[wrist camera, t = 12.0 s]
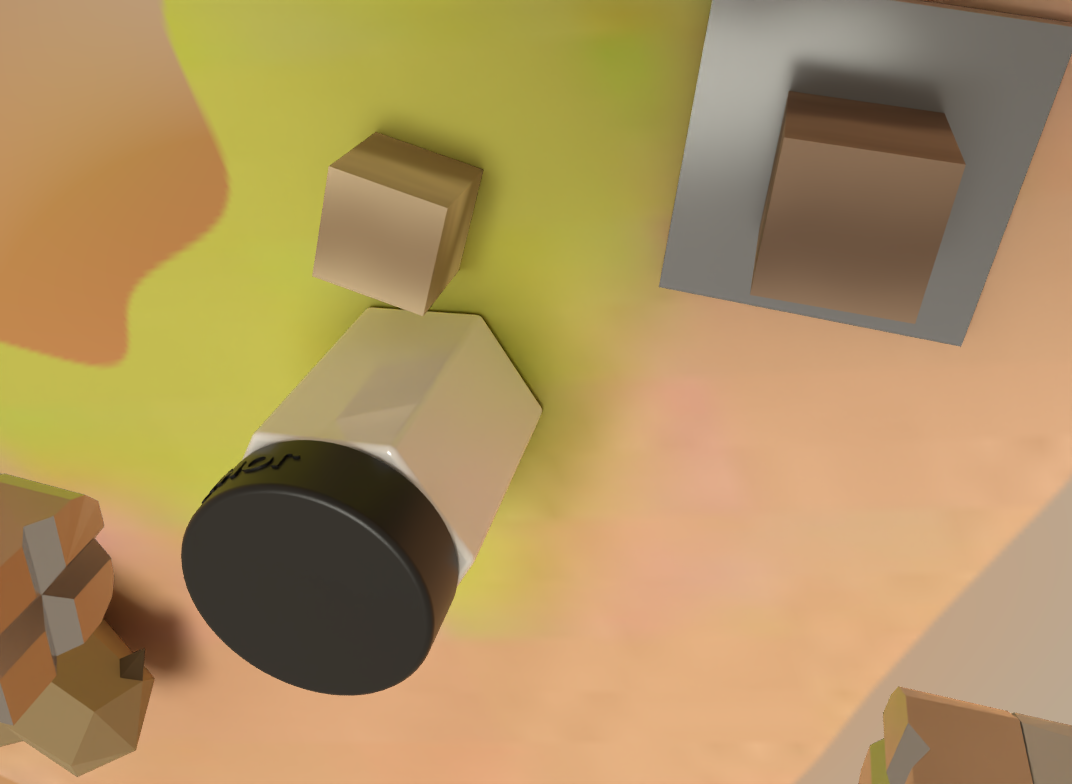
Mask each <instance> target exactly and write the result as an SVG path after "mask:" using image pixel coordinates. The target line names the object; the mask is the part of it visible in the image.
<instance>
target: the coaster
mask: <svg viewBox="0 0 1072 784" xmlns="http://www.w3.org/2000/svg"><path fill="white" fill-rule="evenodd" d="M1071 54H1072V23H1071V22H1064V21H1058V20H1051V19H1044V18H1037V17H1030V16H1024V15H1017V14H1010V13H1003V12H996V11H990V10H983V9H976V8H969V7H962V6H956V5H949V4H942V3H935V2H929V1H922V0H712V4H711V10H710V15H709V20H708V26H707V31H706V37H705V42H704V47H703V53H702V58H701V64H700V69H699V74H698V80H697V85H696V90H695V96H694V101H693V107H692V112H691V117H690V123H689V128H688V134H687V139H686V144H685V150H684V155H683V160H682V166H681V171H680V177H679V182H678V187H677V193H676V198H675V204H674V209H673V214H672V220H671V225H670V230H669V236H668V241H667V247H666V252H665V257H664V263H663V268H662V274H661V279H660V284H659V287H662V288H667V289H672V290H677V291H682V292H687V293H692V294H698V295H703V296H708V297H713V298H718V299H723V300H728V301H733V302H738V303H743V304H748V305H753V306H758V307H763V308H768V309H774V310H779V311H784V312H789V313H794V314H799V315H804V316H809V317H814V318H819V319H824V320H829V321H834V322H839V323H844V324H849V325H855V326H860V327H865V328H870V329H875V330H880V331H885V332H890V333H895V334H900V335H905V336H910V337H915V338H920V339H925V340H931V341H936V342H941V343H946V344H951V345H956V346H961V345H962V343H963V340H964V337H965V335H966V332H967V329H968V327H969V324H970V321H971V319H972V316H973V313H974V311H975V308H976V306H977V303H978V300H979V298H980V295H981V292H982V290H983V287H984V284H985V282H986V279H987V276H988V274H989V271H990V268H991V266H992V263H993V260H994V258H995V255H996V253H997V250H998V247H999V245H1000V242H1001V239H1002V237H1003V234H1004V231H1005V229H1006V226H1007V223H1008V221H1009V218H1010V215H1011V213H1012V210H1013V208H1014V205H1015V202H1016V200H1017V197H1018V194H1019V192H1020V189H1021V186H1022V184H1023V181H1024V178H1025V176H1026V173H1027V170H1028V168H1029V165H1030V163H1031V160H1032V157H1033V155H1034V152H1035V149H1036V147H1037V144H1038V141H1039V139H1040V136H1041V133H1042V131H1043V128H1044V125H1045V123H1046V120H1047V117H1048V115H1049V112H1050V110H1051V107H1052V104H1053V102H1054V99H1055V96H1056V94H1057V91H1058V88H1059V86H1060V83H1061V80H1062V78H1063V75H1064V72H1065V70H1066V67H1067V65H1068V62H1069V59H1070V57H1071ZM789 91H793V92H800V93H807V94H814V95H821V96H828V97H835V98H842V99H849V100H856V101H863V102H871V103H878V104H885V105H892V106H899V107H906V108H913V109H920V110H927V111H934V112H941V113H945V116H946V118H947V120H948V123H949V125H950V128H951V130H952V133H953V135H954V137H955V140H956V142H957V145H958V147H959V149H960V152H961V154H962V157H963V159H964V161H965V164H966V166H965V169H964V172H963V175H962V178H961V181H960V185H959V188H958V191H957V194H956V197H955V200H954V203H953V207H952V210H951V213H950V216H949V219H948V222H947V225H946V228H945V232H944V235H943V238H942V241H941V244H940V247H939V250H938V254H937V257H936V260H935V263H934V266H933V269H932V272H931V276H930V279H929V282H928V285H927V288H926V291H925V294H924V297H923V301H922V304H921V307H920V310H919V313H918V316H917V319H916V323H915V324H912V323H907V322H901V321H895V320H890V319H884V318H878V317H873V316H867V315H861V314H856V313H850V312H844V311H839V310H833V309H827V308H822V307H816V306H810V305H804V304H799V303H793V302H787V301H782V300H776V299H770V298H765V297H759V296H753V295H750V292H751V284H752V277H753V270H754V263H755V256H756V248H757V241H758V234H759V228H760V224H761V219H762V214H763V210H764V205H765V200H766V195H767V191H768V186H769V181H770V177H771V172H772V167H773V163H774V158H775V153H776V149H777V144H778V139H779V135H780V130H781V125H782V121H783V116H784V111H785V106H786V102H787V97H788V92H789Z"/></svg>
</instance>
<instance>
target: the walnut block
mask: <svg viewBox="0 0 1072 784" xmlns="http://www.w3.org/2000/svg"><path fill="white" fill-rule="evenodd" d="M965 166H966V164H965V161H964V159H963V157H962V154H961V152H960V149H959V147H958V145H957V142H956V140H955V137H954V135H953V133H952V130H951V128H950V125H949V123H948V120H947V118H946V116H945V113H941V112H934V111H927V110H920V109H913V108H906V107H899V106H892V105H885V104H878V103H871V102H863V101H856V100H849V99H842V98H835V97H828V96H821V95H814V94H807V93H800V92H793V91H789V92H788V97H787V102H786V106H785V111H784V116H783V121H782V125H781V130H780V135H779V139H778V144H777V149H776V153H775V158H774V163H773V167H772V172H771V177H770V181H769V186H768V191H767V195H766V200H765V205H764V210H763V214H762V219H761V224H760V228H759V234H758V241H757V248H756V256H755V263H754V270H753V277H752V284H751V292H750V295H753V296H759V297H765V298H770V299H776V300H782V301H787V302H793V303H799V304H804V305H810V306H816V307H822V308H827V309H833V310H839V311H844V312H850V313H856V314H861V315H867V316H873V317H878V318H884V319H890V320H895V321H901V322H907V323H912V324H915V323H916V319H917V316H918V313H919V310H920V307H921V304H922V301H923V297H924V294H925V291H926V288H927V285H928V282H929V279H930V276H931V272H932V269H933V266H934V263H935V260H936V257H937V254H938V250H939V247H940V244H941V241H942V238H943V235H944V232H945V228H946V225H947V222H948V219H949V216H950V213H951V210H952V207H953V203H954V200H955V197H956V194H957V191H958V188H959V185H960V181H961V178H962V175H963V172H964V169H965Z"/></svg>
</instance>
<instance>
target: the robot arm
mask: <svg viewBox="0 0 1072 784" xmlns="http://www.w3.org/2000/svg"><path fill="white" fill-rule="evenodd" d="M103 527H104V522H103V518H102V514H101V510H100V506H99V502H98V501H97V500H95V499H93V498H91V497H89V496H86V495H84V494H80V493H76V492H72V491H69V490H65V489H61V488H57V487H54V486H50V485H46V484H42V483H38V482H35V481H31V480H27V479H23V478H20V477H16V476H12V475H8V474H5V473H4V474H1V473H0V722H1V723H5V724H9V725H13V726H14V725H15V723H16V722H17V721H18V720H19V719H20V718H21V716H22V715H23V714H24V713H25V712H26V711H27V709H28V708H29V707H30V706H31V705H32V704H33V702H34V701H35V700H36V699H37V698H38V697H39V696H40V694H41V693H42V692H43V691H44V690H45V689H46V687H47V686H48V685H49V684H50V683H51V682H52V680H53V679H54V678H55V677H56V676H57V656H58V655H60V654H62V653H65V652H67V651H69V650H71V649H73V648H75V647H78V646H80V645H82V644H84V643H85V642H86V640H87V639H88V638H89V637H90V636H91V634H92V633H93V632H94V631H95V629H96V628H97V627H98V626H99V625H100V623H101V622H102V619H103V617H104V615H105V612H106V610H107V608H108V605H109V603H110V601H111V598H112V594H113V584H114V571H113V566H112V560H111V557H110V556H109V555H108V554H107V552H106V551H105V550H104V549H103V548H102V546H101V545H100V544H99V543H98V542H97V541H96V539H95V537H96V536H97V535H98V533H99V532H100V531H101V530H102V528H103ZM883 722H884V738H883V739H881V740H880V741H878V742H875V743H873V744H872V745H870V747H869V749H868V752H867V755H866V758H865V760H864V763H863V766H862V769H861V774H860V778H859V783H858V784H1072V726H1071V725H1067V724H1063V723H1058V722H1054V721H1049V720H1045V719H1040V718H1036V717H1032V716H1027V715H1023V714H1018V713H1009V712H1008V711H1004V710H1000V709H996V708H991V707H987V706H983V705H978V704H974V703H970V702H965V701H961V700H956V699H952V698H948V697H943V696H939V695H934V694H930V693H925V692H921V691H916V690H912V689H908V688H903V687H898V688H897V689H896V690H895V691H894V692H893V693H892V694H891V696H890V699H889V701H888V703H887V706H886V708H885V710H884V712H883Z"/></svg>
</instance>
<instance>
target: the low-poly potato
mask: <svg viewBox="0 0 1072 784" xmlns="http://www.w3.org/2000/svg"><path fill="white" fill-rule="evenodd" d="M144 653H145V648H144V649H142V650H139V651H137V652H135V653H132V651H131V650H130V649H129V648H128V647H127V645H126V644H125V643H124V642H123V641H122V640H121V638H120V637H119V636H118V635H117V634H116V633H115V631H114V630H113V629H112V628H111V627H110V626H109V624H108V623H107V622H106V621H105V620H104V618H103V619H102V622H101V623H100V625H99V626H98V627H97V628H96V629H95V631H94V632H93V633H92V634H91V636H90V637H89V638H88V639H87V640H86V642H85V643H84V644H82V645H80V646H78V647H75V648H73V649H71V650H69V651H67V652H65V653H62V654H60V655H58V656H57V676H56V677H55V678H54V679H53V680H52V682H51V683H50V684H49V685H48V686H47V687H46V689H45V690H44V691H43V692H42V693H41V694H40V696H39V697H38V698H37V699H36V700H35V701H34V702H33V704H32V705H31V706H30V707H29V708H28V709H27V711H26V712H25V713H24V714H23V715H22V716H21V718H20V719H19V720H18V721H17V722H16V723H15V725H14V726H13V725H9V724H5V723H1V722H0V747H2V746H6V745H10V744H13V743H17V742H21V741H24V742H26V743H27V744H29V745H30V746H32V747H33V748H35V749H36V750H38V751H39V752H41V753H42V754H44V755H45V756H47V757H48V758H50V759H51V760H53V761H54V762H56V763H57V764H59V765H60V766H62V767H63V768H65V769H66V770H68V771H69V772H71V773H72V774H73V775H75V776H76V777H78V776H81V775H83V774H85V773H87V772H89V771H92V770H94V769H96V768H98V767H100V766H103V765H105V764H107V763H109V762H111V761H113V760H116V759H118V758H120V757H122V756H124V755H127V754H129V753H131V752H133V751H135V750H136V748H137V744H138V740H139V736H140V732H141V729H142V725H143V721H144V717H145V713H146V710H147V706H148V702H149V698H150V694H151V691H152V687H153V683H154V679H155V678H154V677H153V676H152V675H151V674H150V673H149V671H148V670H147V669H146V668H145V667H144Z"/></svg>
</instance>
